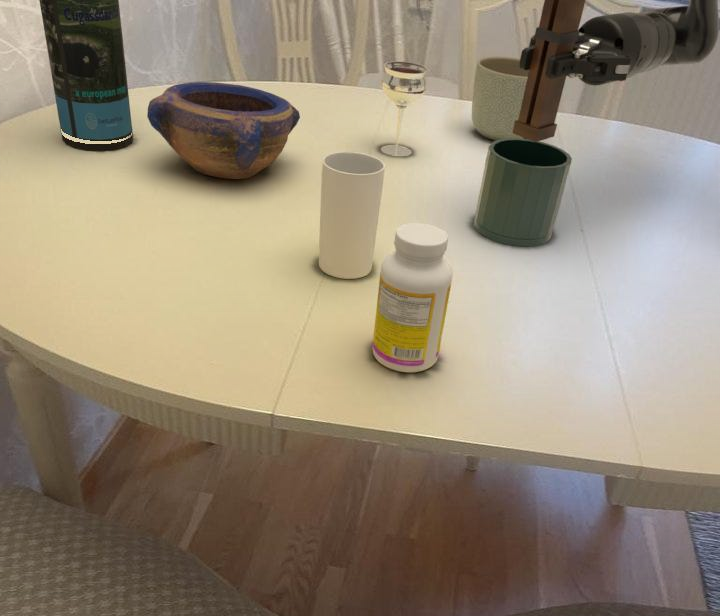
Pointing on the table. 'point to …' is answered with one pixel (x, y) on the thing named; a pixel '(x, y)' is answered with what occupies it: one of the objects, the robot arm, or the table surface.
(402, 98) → the wineglass
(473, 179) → the table surface
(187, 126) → the bowl
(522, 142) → the crock
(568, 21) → the tongs
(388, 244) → the table surface
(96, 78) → the advertising column
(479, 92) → the planter
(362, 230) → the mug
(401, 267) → the supplement bottle
